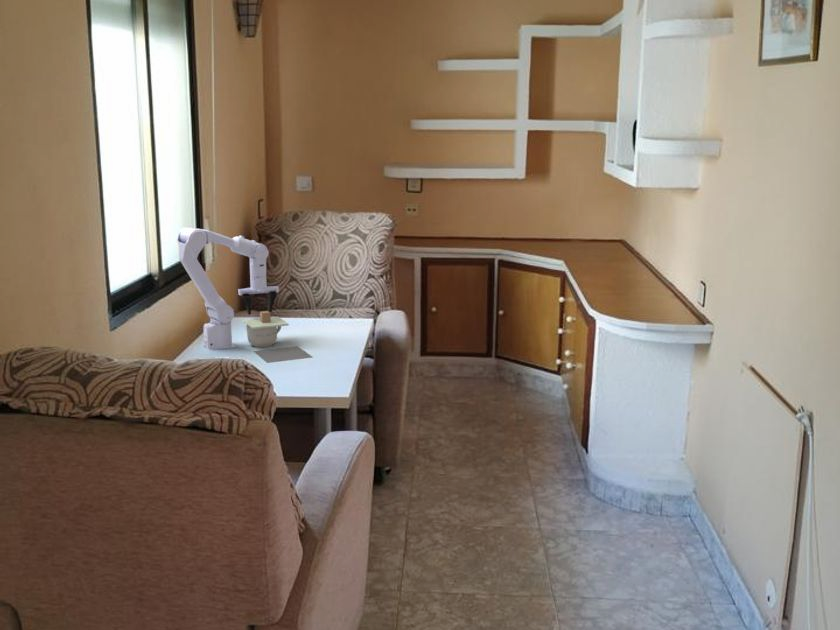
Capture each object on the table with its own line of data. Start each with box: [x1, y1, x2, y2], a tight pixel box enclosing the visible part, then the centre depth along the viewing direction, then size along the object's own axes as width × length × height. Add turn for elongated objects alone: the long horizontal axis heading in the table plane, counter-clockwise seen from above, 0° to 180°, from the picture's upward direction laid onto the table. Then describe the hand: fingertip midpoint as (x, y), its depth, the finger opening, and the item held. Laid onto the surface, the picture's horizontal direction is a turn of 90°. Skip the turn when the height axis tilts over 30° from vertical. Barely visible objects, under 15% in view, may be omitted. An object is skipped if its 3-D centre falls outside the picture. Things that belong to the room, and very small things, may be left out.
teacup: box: [245, 324, 282, 348], centre depth 301 cm, size 14×11×8 cm
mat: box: [253, 345, 313, 364], centre depth 289 cm, size 16×16×1 cm
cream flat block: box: [241, 310, 289, 329], centre depth 300 cm, size 13×13×4 cm
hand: (259, 313), depth 306 cm, fingers open, 7 cm apart
